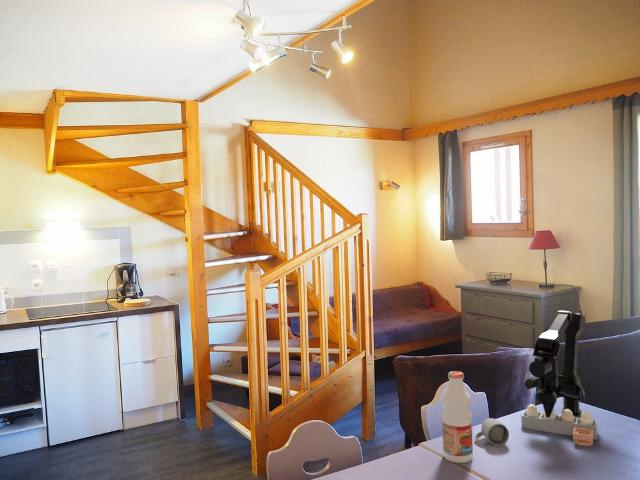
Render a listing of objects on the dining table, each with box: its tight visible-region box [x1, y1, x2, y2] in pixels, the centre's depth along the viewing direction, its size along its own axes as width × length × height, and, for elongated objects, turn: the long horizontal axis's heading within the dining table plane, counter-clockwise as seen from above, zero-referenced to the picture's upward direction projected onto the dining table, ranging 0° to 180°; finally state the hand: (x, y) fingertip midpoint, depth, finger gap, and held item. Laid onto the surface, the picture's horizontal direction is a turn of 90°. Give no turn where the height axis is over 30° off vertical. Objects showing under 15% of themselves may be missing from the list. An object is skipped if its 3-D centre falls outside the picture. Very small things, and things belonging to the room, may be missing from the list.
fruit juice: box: [441, 370, 474, 464], centre depth 171 cm, size 9×9×28 cm
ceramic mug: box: [474, 417, 510, 447], centre depth 183 cm, size 11×8×8 cm
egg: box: [543, 408, 556, 420], centre depth 192 cm, size 4×4×6 cm
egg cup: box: [572, 427, 594, 447], centre depth 179 cm, size 6×6×4 cm
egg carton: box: [520, 403, 598, 440], centre depth 190 cm, size 7×25×8 cm, turn 60°
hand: (549, 413), depth 192 cm, fingers open, 9 cm apart
